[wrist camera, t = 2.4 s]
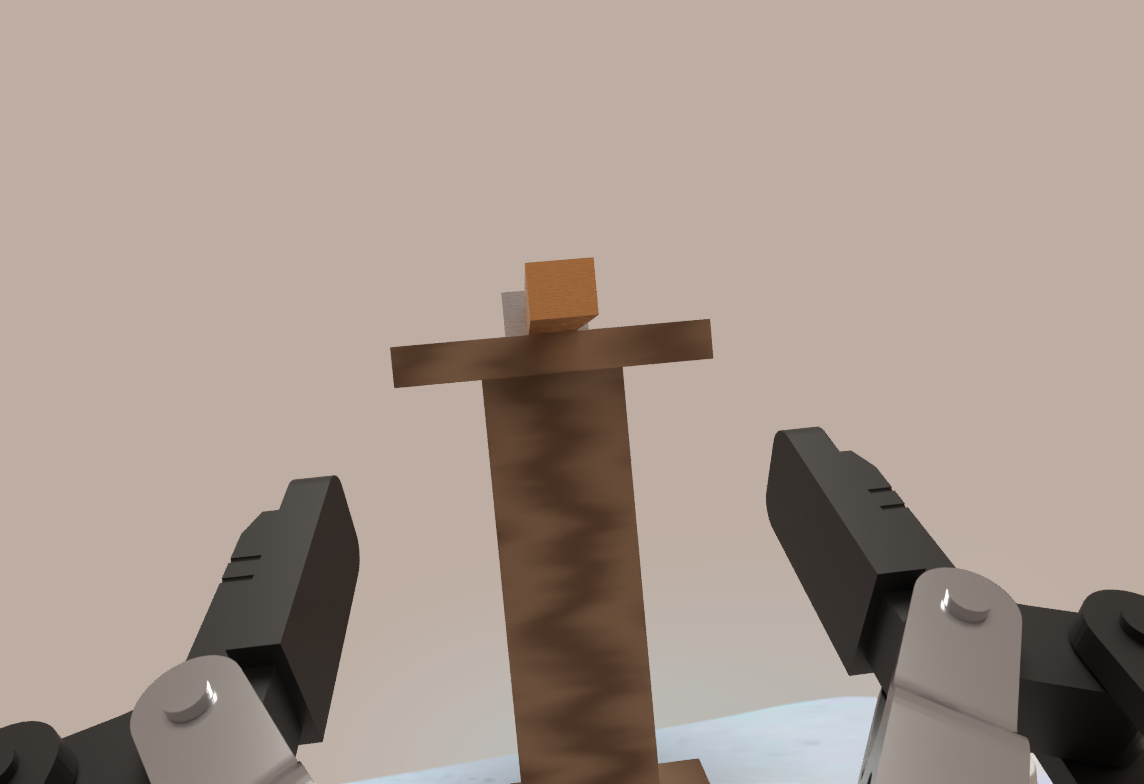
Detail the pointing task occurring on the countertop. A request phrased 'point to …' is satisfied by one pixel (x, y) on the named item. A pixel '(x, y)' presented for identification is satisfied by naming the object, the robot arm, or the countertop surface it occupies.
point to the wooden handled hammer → (552, 298)
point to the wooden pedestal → (569, 540)
